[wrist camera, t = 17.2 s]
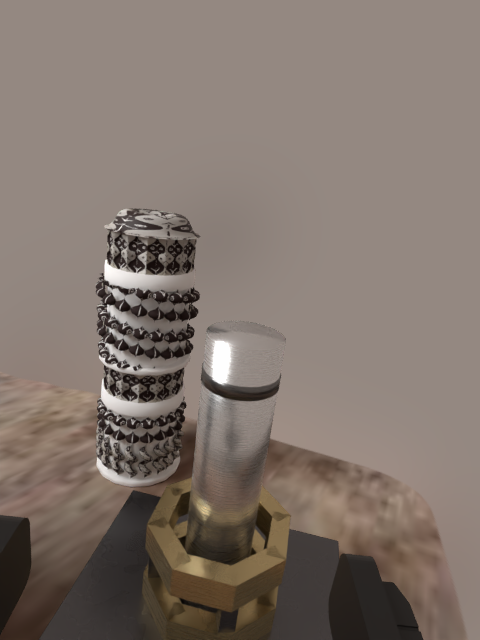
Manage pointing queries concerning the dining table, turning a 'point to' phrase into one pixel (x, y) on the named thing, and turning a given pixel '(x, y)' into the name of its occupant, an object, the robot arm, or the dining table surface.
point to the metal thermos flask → (232, 439)
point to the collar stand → (198, 580)
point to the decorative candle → (144, 345)
